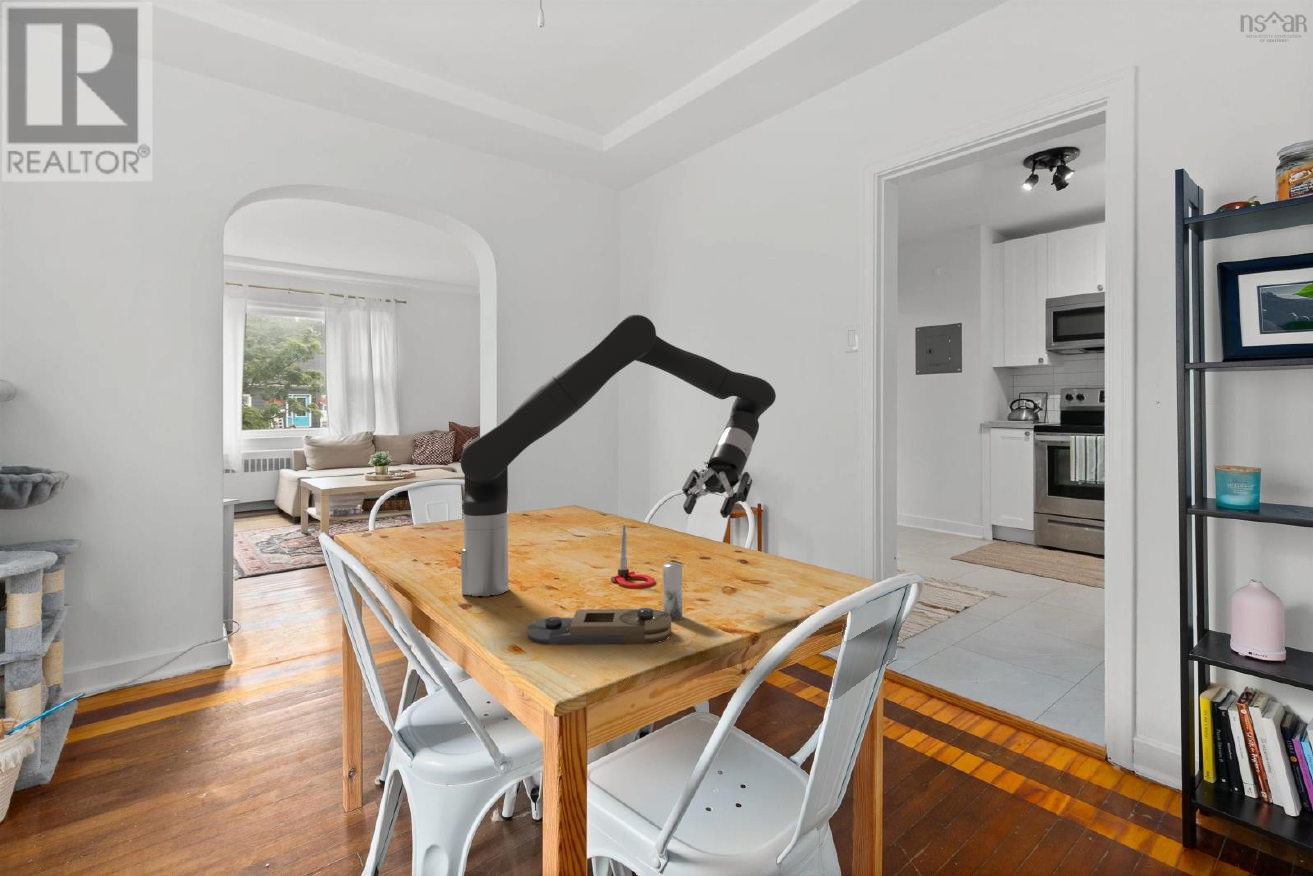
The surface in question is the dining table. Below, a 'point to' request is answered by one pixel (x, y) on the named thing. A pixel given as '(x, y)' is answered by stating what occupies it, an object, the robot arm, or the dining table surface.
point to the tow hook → (624, 572)
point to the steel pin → (672, 589)
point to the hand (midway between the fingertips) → (704, 513)
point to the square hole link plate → (603, 627)
